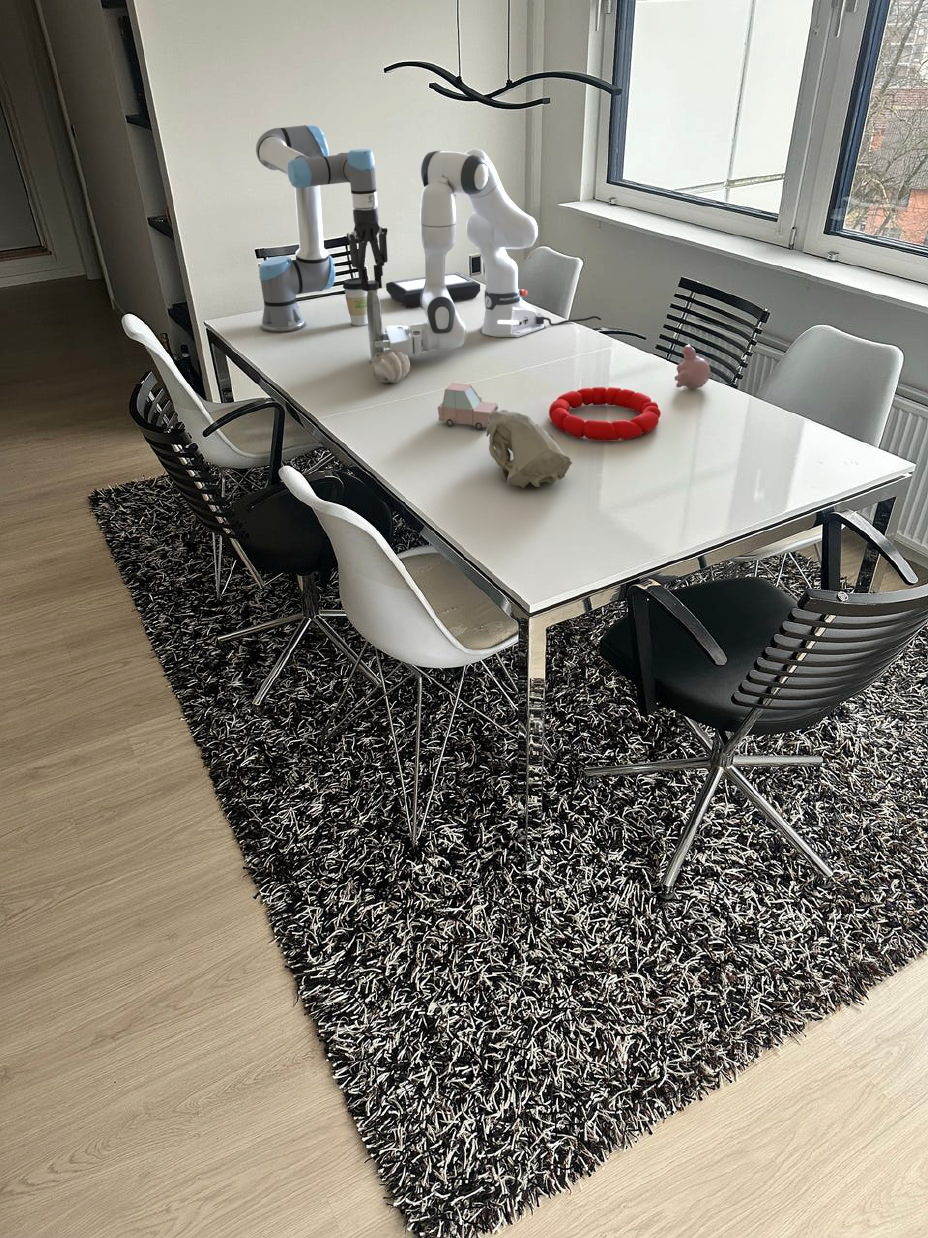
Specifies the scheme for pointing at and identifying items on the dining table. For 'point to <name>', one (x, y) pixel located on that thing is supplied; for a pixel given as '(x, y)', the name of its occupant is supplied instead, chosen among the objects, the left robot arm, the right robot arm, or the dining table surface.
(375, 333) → the bottle
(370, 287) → the cap
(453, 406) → the toy car
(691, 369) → the figurine
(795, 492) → the dining table surface
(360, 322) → the coffee cup
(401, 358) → the seashell
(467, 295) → the electronic device
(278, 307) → the left robot arm
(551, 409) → the decorative ring
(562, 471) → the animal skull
